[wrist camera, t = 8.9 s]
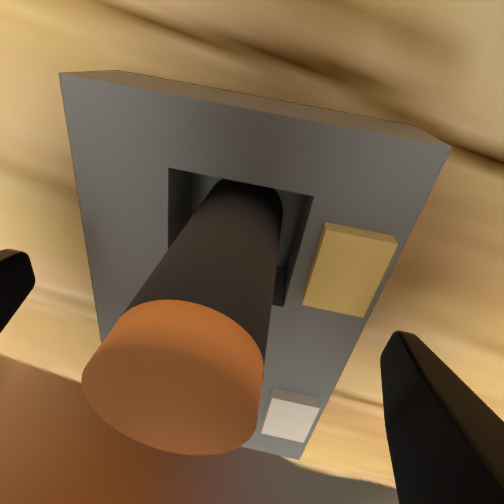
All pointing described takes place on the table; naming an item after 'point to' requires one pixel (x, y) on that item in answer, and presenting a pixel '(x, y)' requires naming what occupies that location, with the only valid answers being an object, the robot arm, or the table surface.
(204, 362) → the plug
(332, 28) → the table surface
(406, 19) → the table surface
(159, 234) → the port block
